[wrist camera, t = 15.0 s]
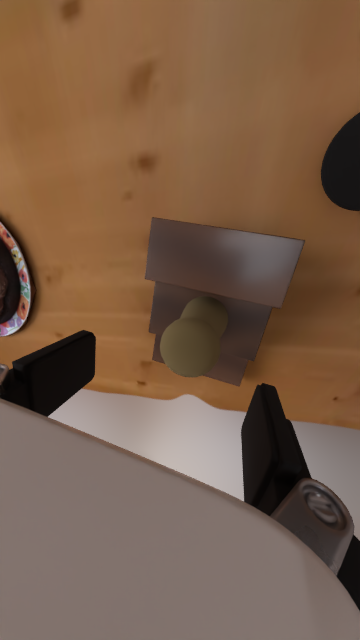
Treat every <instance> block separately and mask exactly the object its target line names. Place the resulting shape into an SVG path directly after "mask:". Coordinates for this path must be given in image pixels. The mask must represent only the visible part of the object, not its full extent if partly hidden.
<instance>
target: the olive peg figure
mask: <svg viewBox="0 0 360 640" xmlns="http://www.w3.org/2000/svg"><path fill="white" fill-rule="evenodd" d="M227 324H228V314H227V311H226V309H225V307H224V306H223V305H222V303H221V302H219V301H218V300H216V299H215V298H212V297H208V296H202V297H197V298H195V299H192V300H191V301H190V302H189V303H188V304H187V305H186V307H185V309H184V310H183V313H182V315H181V317H180V319H178V320H175V321H174V322H173V323H172V324H170V325H169V326H168V327H167V328H166V330H165V331H164V333H163V335H162V338H161V343H160V351H161V356H162V358H163V360H164V362H165V364H166V365H167V366H168V367H169V368H170V370H172V371H173V372H175V373H176V374H178V375H181V376H184V377H198V376H202V375H204V374H206V373H208V372H209V371H211V369H212V368H213V367H214V366H215V364H216V363H217V362H218V359H219V356H220V352H221V347H220V338H221V336H222V334H223V333H224V331H225V329H226V327H227Z"/></svg>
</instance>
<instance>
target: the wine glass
mask: <svg viewBox="0 0 360 640" xmlns="http://www.w3.org/2000/svg"><path fill="white" fill-rule="evenodd" d="M321 180H322V185H323V188H324V191H325V193H326V194H327V196H328V197H329V198H330V200H331V201H332V202H334V203H335V204H336V205H338V206H340V207H342V208H345V209H348V210H355V211H360V113H358V114H357V115H356V116H354V117H353V118H352V119H351V120H349V121H348V122H347V123H346V124H345V125H344V126H343V127H342V128H341V130H340V131H339V132H338V133H337V135H336V136H335V137H334V138H333V140H332V142H331V143H330V145H329V147H328V149H327V151H326V153H325V156H324V159H323V163H322V169H321Z"/></svg>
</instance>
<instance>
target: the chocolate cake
mask: <svg viewBox="0 0 360 640" xmlns="http://www.w3.org/2000/svg"><path fill="white" fill-rule="evenodd" d="M35 292H36V289H35V287H34V285H33V282H32V278H31V275H30V273H29V270H28V267H27V264H26V262H25V259H24V256H23V254H22V251H21V249H20V246H19V244H18V243H17V241H16V240H15V239H14V238H13V237H12V235H11V234H10V232H9V231H8V230H7V229H6V228H5V227H4V225H3V224H2V223H1V222H0V336H1V337H2V336H8V335H11V334H13V333H15V332H17V331H18V330H19V329H20V328H21V327H22V326H23V325H24V324H26V323H27V317H28V315H29V312H30V310H31V307H32V304H33V300H34V294H35Z"/></svg>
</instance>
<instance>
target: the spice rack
mask: <svg viewBox="0 0 360 640" xmlns="http://www.w3.org/2000/svg"><path fill="white" fill-rule="evenodd" d="M304 243H305V240H300V239H294V238H287V237H281V236H274V235H267V234H261V233H254V232H247V231H241V230H234V229H227V228H221V227H214V226H207V225H201V224H194V223H187V222H181V221H174V220H168V219H161V218H154V217H152V221H151V230H150V239H149V247H148V256H147V264H146V273H145V279H147V280H152V281H155V289H154V296H153V304H152V311H151V319H150V326H149V332H150V333H154V334H156V338H155V345H154V351H153V358H152V360H154V361H158V362H161V363H164V364H165V362H164V360H163V358H162V356H161V351H160V343H161V338H162V335H163V333H164V331H165V330H166V328H167V327H168V326H169V325H170V324H172V323H173V322H174V321H175V320H178V319H180V317H181V315H182V313H183V310H184V309H185V307H186V305H187V304H188V303H189V302H190V301H191V300H192V299H195V298H197V297H202V296H208V297H212V298H215V299H216V300H218V301H219V302H221V303H222V305H223V306H224V307H225V309H226V311H227V314H228V324H227V327H226V329H225V331H224V333H223V334H222V336H221V338H220V347H221V352H220V356H219V359H218V362H217V363H216V364H215V366H214V367H213V368H212V369H211V371H209V372H208V373H206V374H204V375H203V376H206V377H210V378H213V379H216V380H219V381H223V382H226V383H229V384H233V385H236V386H240V383H241V380H242V377H243V374H244V371H245V368H246V365H247V362H248V360H251V361H254V359H255V357H256V354H257V351H258V348H259V345H260V342H261V339H262V336H263V333H264V330H265V327H266V324H267V321H268V319H269V316H270V313H271V310H272V307H275V308H279V309H281V307H282V304H283V302H284V299H285V296H286V293H287V290H288V288H289V285H290V282H291V279H292V277H293V274H294V271H295V268H296V265H297V263H298V260H299V257H300V254H301V251H302V249H303V246H304Z"/></svg>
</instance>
